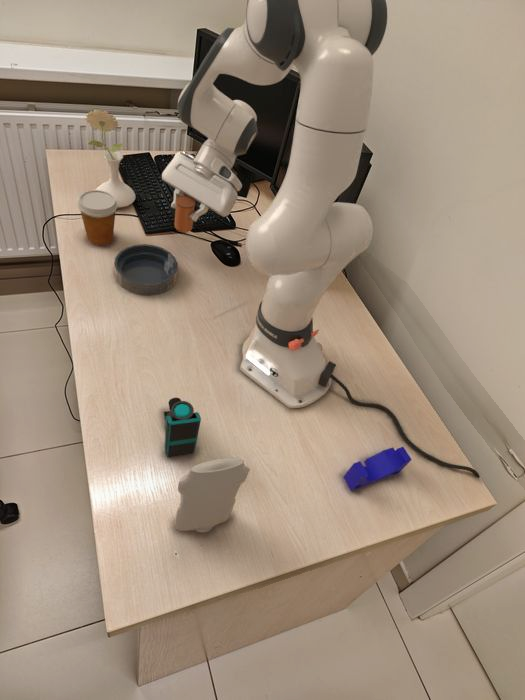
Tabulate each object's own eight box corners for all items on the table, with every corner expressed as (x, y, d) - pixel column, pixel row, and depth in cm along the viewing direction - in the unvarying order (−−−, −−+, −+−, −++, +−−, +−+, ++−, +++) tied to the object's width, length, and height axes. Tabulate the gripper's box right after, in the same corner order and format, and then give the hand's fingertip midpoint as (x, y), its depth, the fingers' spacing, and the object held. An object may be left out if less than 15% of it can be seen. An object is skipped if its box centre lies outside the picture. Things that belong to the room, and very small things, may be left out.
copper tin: (196, 229, 120) (199, 204, 114) (180, 234, 117) (183, 208, 112) (185, 219, 122) (188, 194, 116) (170, 223, 119) (171, 198, 114)
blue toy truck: (387, 454, 97) (399, 440, 93) (398, 473, 95) (411, 459, 90) (339, 470, 92) (349, 456, 88) (350, 490, 90) (361, 477, 86)
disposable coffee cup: (114, 253, 121) (112, 213, 112) (76, 246, 119) (71, 206, 110) (122, 232, 127) (121, 193, 118) (86, 225, 126) (82, 185, 117)
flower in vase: (141, 196, 139) (142, 112, 121) (125, 216, 132) (123, 128, 113) (100, 183, 139) (94, 97, 121) (82, 202, 132) (72, 112, 113)
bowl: (188, 284, 119) (189, 272, 116) (135, 304, 110) (135, 292, 107) (156, 250, 125) (156, 238, 122) (103, 267, 116) (102, 254, 114)
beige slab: (174, 539, 78) (183, 484, 61) (170, 515, 80) (177, 456, 64) (234, 525, 81) (258, 469, 65) (229, 503, 84) (250, 444, 67)
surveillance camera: (191, 374, 85) (201, 420, 80) (186, 409, 94) (195, 453, 89) (160, 377, 84) (169, 425, 78) (158, 413, 93) (166, 458, 87)
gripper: (174, 141, 114) (145, 190, 116) (240, 178, 109) (209, 229, 111) (184, 153, 120) (157, 200, 122) (247, 189, 116) (218, 236, 117)
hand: (183, 214), depth 116 cm, fingers closed on copper tin, 4 cm apart
